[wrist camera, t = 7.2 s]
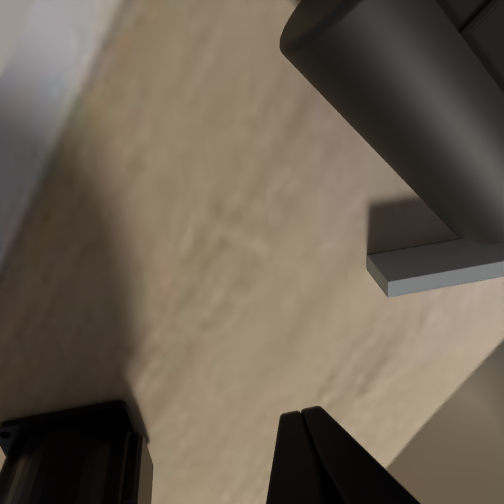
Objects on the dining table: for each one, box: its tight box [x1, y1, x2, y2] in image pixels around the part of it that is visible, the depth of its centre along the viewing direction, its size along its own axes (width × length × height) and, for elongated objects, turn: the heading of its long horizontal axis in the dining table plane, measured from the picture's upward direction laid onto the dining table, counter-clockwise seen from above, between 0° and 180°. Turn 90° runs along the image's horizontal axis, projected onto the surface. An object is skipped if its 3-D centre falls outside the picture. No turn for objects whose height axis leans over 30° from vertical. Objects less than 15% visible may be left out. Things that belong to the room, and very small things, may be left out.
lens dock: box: [367, 239, 504, 298], centre depth 18 cm, size 8×16×2 cm, turn 7°
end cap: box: [280, 0, 504, 245], centre depth 15 cm, size 10×7×7 cm
